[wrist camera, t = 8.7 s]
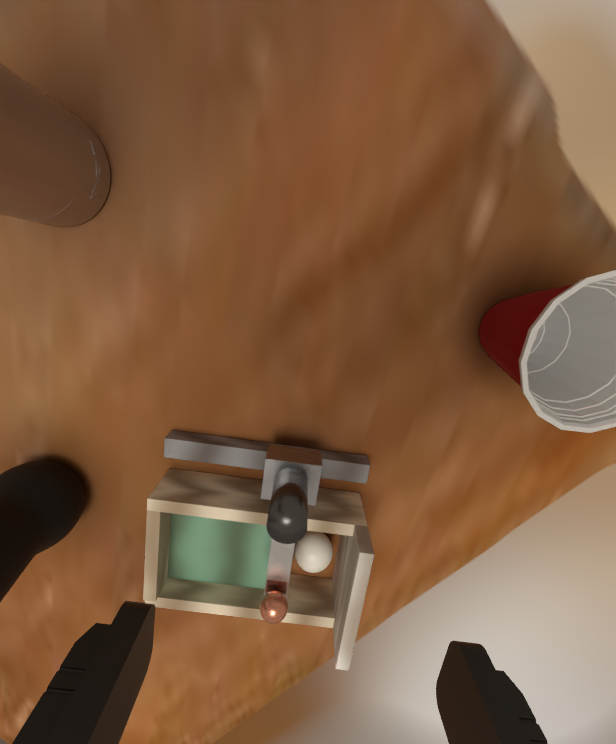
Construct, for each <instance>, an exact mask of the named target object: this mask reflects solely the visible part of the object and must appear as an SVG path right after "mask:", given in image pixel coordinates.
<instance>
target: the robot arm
mask: <svg viewBox="0 0 616 744" xmlns="http://www.w3.org/2000/svg"><path fill="white" fill-rule="evenodd" d="M109 187H110V166H109V162H108V158H107V155H106V152H105V150H104V148H103V146H102V144H101V142H100V140H99V139H98V137H97V136H96V134H95V133H94V132H93V130H92V129H91V128H90V127H89V126H87V125H86V124H85V123H84V122H83V121H82V120H81V119H79V118H78V117H76V116H75V115H74V114H72V113H71V112H69V111H68V110H66V109H65V108H64V107H62V106H61V105H59V104H58V103H57V102H55V101H54V100H52V99H51V98H50V97H48V96H47V95H46V94H44V93H43V92H41V91H40V90H39V89H37V88H36V87H34V86H33V85H31V84H30V83H29V82H27V81H26V80H24V79H23V78H22V77H20V76H19V75H17V74H16V73H14V72H13V71H12V70H10V69H9V68H7V67H6V66H5V65H3V64H2V63H0V214H1V215H6V216H10V217H15V218H19V219H24V220H28V221H33V222H38V223H42V224H47V225H52V226H58V227H73V226H76V225H80V224H83V223H85V222H86V221H88V220H90V219H91V218H93V217H94V216H95V215H96V214H97V213H98V212H99V211H100V209H101V208H102V206H103V204H104V203H105V201H106V198H107V195H108V192H109ZM154 620H155V605H154V604H148V603H139V602H131V601H125V602H124V603H123V605H122V606H121V608H120V609H119V611H118V613H117V615H116V617H115V618H114V620H113V622H112V624H111V625H109V624H100V623H96V624H95V625H94V626H93V627H91V628H90V629H89V630H88V631H87V632H86V633H85V634H84V635H83V636H82V637H80V638H79V639H78V640H77V641H76V642H75V644H74V645H73V647H72V648H71V650H70V652H69V653H68V655H67V656H66V658H65V660H64V661H63V663H62V664H61V666H60V669H59V671H57V672H56V674H55V676H54V677H53V679H52V681H51V682H50V684H49V685H48V687H47V690H46V692H44V693H43V695H42V697H41V698H40V700H39V701H38V703H37V705H36V706H35V708H34V709H33V711H32V713H31V714H30V716H29V718H28V719H27V721H26V722H25V724H24V726H23V727H22V729H21V730H20V732H19V734H18V735H17V737H16V738H15V740H14V742H13V743H12V744H119V741H120V739H121V736H122V734H123V731H124V729H125V726H126V724H127V721H128V719H129V716H130V714H131V711H132V709H133V706H134V703H135V701H136V698H137V696H138V693H139V691H140V688H141V686H142V683H143V681H144V678H145V675H146V672H147V669H148V666H149V662H150V658H151V654H152V647H153V634H154ZM436 695H437V696H436V697H437V704H438V709H439V712H440V716H441V719H442V722H443V726H444V729H445V732H446V735H447V738H448V742H449V744H547V740H546V738H545V736H544V734H543V732H542V730H541V729H540V726H539V725H538V724H537V723H536V719H535V717H534V715H533V713H532V711H531V709H530V707H529V705H528V703H527V701H526V699H525V698H524V696H523V694H522V693H521V691H520V690H519V689H518V688H517V687H516V686H515V684H514V683H513V682H512V681H511V680H510V678H509V677H508V676H507V675H506V673H505V672H504V671H498V670H495V668H494V666H493V664H492V662H491V660H490V658H489V656H488V654H487V652H486V650H485V648H484V647H483V646H482V645H480V644H476V643H467V642H459V641H452V642H450V644H449V647H448V650H447V653H446V656H445V659H444V662H443V665H442V668H441V671H440V674H439V677H438V680H437V685H436Z"/></svg>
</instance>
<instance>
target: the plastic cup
mask: <svg viewBox="0 0 616 744" xmlns="http://www.w3.org/2000/svg"><path fill="white" fill-rule="evenodd" d="M479 337H480V343H481V345H482V347H483V348H484V350H485V351H486V353H487V354H488V355H489V356H490V357H491V358H492V359H493V360H494V361H496V363H497V364H498V366H499V367H501V368H502V369H503V370H504V371H505V372H506V373H507V374H508V375H509V376H510V377H511V378H512V379H514V380H515V381H516V382H517V383H518V384H519V385H520V386H521V389H522V391H523V393H524V394H525V396H526V398H527V399H528V401H529V402H530V404H531V406H532V407H533V409H534V410H535V412H536V414H537V415H538V416H539V417H541V418H543V419H544V420H546V421H548V422H549V423H551V424H553V425H554V426H556V427H558V428H559V429H561V430H570V431H579V432H588V433H592V432H596V431H600V430H604V429H608V428H612V427H616V270H615V271H611V272H607V273H603V274H600V275H596V276H592V277H588V278H585V279H581V280H580V281H578V282H577V283H575V284H572V285H568V286H564V287H559V288H554V289H549V290H544V291H539V292H534V293H530V294H526V295H522V296H518V297H514V298H511V299H507V300H503V301H501V302H499V303H498V304H496V305H495V306H493V307H492V308H490V309H489V310H488V311H487V313H486V314H485V316H484V317H483V319H482V320H481V324H480V328H479Z"/></svg>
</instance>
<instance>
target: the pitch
mask: <svg viewBox="0 0 616 744" xmlns="http://www.w3.org/2000/svg"><path fill="white" fill-rule="evenodd" d="M269 444H274V443H266V442H259V441H251V440H244V439H236V438H229V437H221V436H214V435H206V434H199V433H191V432H184V431H176V430H172V431H171V432H170V433H169V434H168V435H167V436H166V437H165V444H164V457H167V458H175V459H182V460H190V461H198V462H205V463H213V464H220V465H228V466H236V467H243V468H251V469H259V470H264V467H265V459H266V455H267V451H268V447H269ZM274 445H281V444H274ZM282 446H289V445H282ZM289 447H296V446H289ZM297 448H304V447H297ZM304 449H311V448H304ZM312 450H319V449H312ZM319 451H321V457H322V470H321V476H320V478H327V479H335V480H343V481H350V482H358V483H367V478H368V473H369V468H370V464H369V461H368V457H367V456H364V455H356V454H349V453H341V452H334V451H326V450H319ZM262 483H263V480H258V479H250V478H242V477H235V476H227V475H219V474H212V473H204V472H196V471H188V470H181V469H173V468H170V469H169V470H168V472H167V473H166V474H165V476H164V477H163V478H162V480H161V481H160V482H159V484H158V485H157V486H156V488H155V489H154V491H153V492H152V493H151V495H150V496H149V497H148V499H147V523H146V547H145V571H144V594H143V600H145V603H148V604H154V605H155V607H160V608H168V609H177V610H185V611H194V612H202V613H211V614H219V615H228V616H236V617H244V618H253V619H261V620H264V619H263V618H262V616H261V613H260V603H261V600H262V598H263V596H264V590H265V583H266V576H267V569H268V561H269V554H270V547H271V540H272V538H271V537H270V535H269V534H268V532H267V527H266V524H267V518H268V513H269V507H270V501H271V500H266V499H261V491H262ZM307 531H315V532H323V533H331V534H339V535H340V538H339V544H338V549H337V554H336V559H335V565H334V570H333V575H332V579H329V578H321V577H312V576H304V575H296V574H290V578H289V584H288V591H287V597H286V598H287V601H288V611H287V614H286V616H285V618H284V619H283V620H282V621H281V622H287V623H295V624H304V625H312V626H320V627H329V628H333V638H334V652H335V667H336V669H342V670H349V667H350V662H351V658H352V653H353V649H354V644H355V640H356V635H357V631H358V626H359V622H360V617H361V612H362V608H363V603H364V599H365V594H366V590H367V585H368V581H369V576H370V572H371V567H372V562H373V558H374V551H373V547H372V543H371V539H370V534H369V530H368V526H367V522H366V517H365V513H364V509H363V505H362V501H361V496H360V493H358V492H350V491H342V490H334V489H327V488H318V494H317V500H316V506H313V505H308V521H307Z"/></svg>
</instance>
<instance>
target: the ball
mask: <svg viewBox="0 0 616 744" xmlns="http://www.w3.org/2000/svg"><path fill="white" fill-rule="evenodd" d="M294 554H295V559H296V561H297V563H298V565H299V566H300V567H301V568H302V569H303V570H305V571H307V572H310V573H317V572H320V571H322V570H324V569H325V568H326V567H327V566H328V565H329V563H330V562H331V559H332V555H333V548H332V544H331V542H330V540H329V538H328V537H327V536H326V535H325V534H324V533H322V532H315V531H307V532H306V534H305V536H304V537H303V538H302V539H301V540H300V541H298V542H296V544H295V548H294Z"/></svg>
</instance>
